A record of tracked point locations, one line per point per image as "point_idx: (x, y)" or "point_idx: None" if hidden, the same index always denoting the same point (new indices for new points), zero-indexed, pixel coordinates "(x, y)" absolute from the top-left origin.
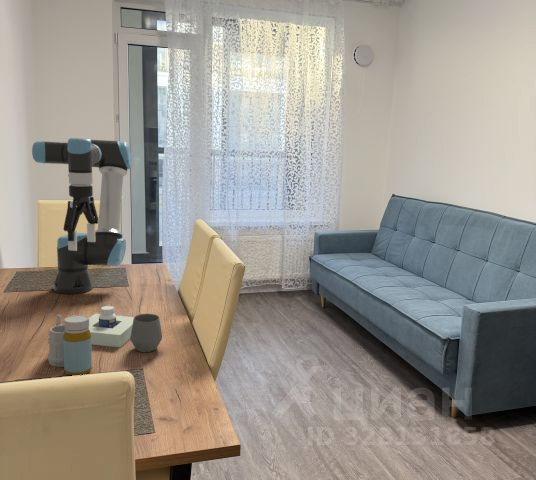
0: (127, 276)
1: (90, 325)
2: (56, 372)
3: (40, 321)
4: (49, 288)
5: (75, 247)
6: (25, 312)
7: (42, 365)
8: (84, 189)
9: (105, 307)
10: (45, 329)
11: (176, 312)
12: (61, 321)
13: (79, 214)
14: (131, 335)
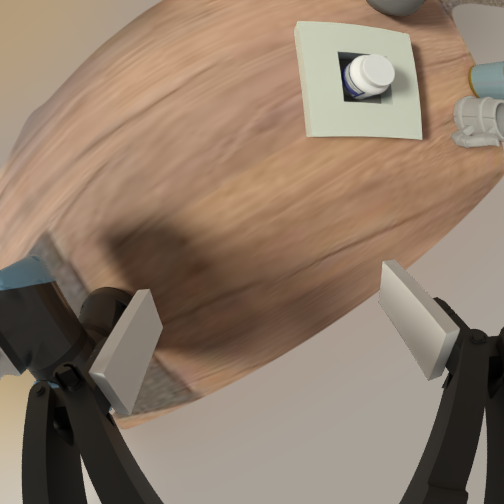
0: None
1: (389, 109)
2: None
3: (325, 263)
4: None
5: (402, 270)
6: (284, 319)
7: None
8: None
9: (379, 76)
10: (364, 225)
11: (152, 19)
12: (491, 133)
13: (445, 482)
14: (415, 10)
